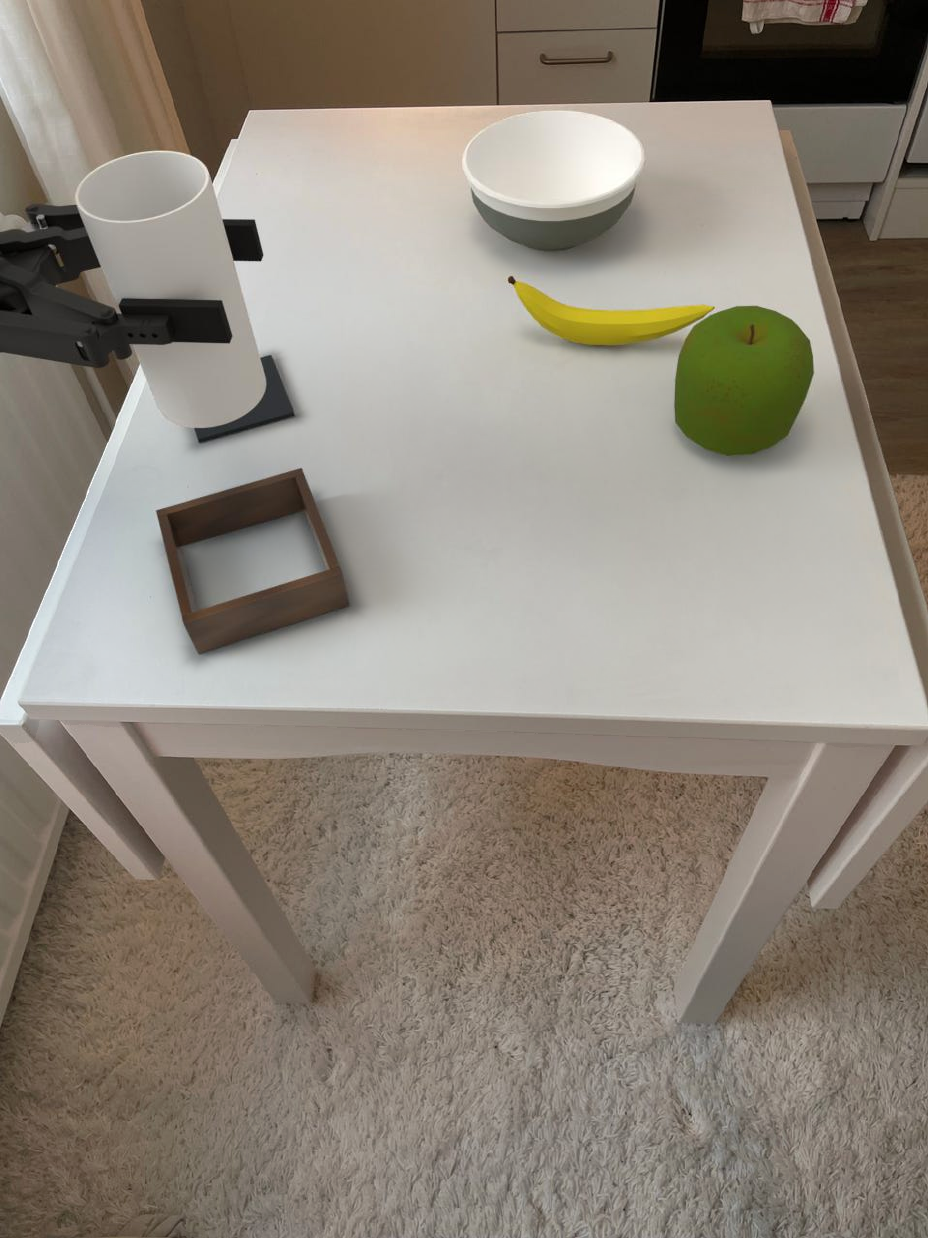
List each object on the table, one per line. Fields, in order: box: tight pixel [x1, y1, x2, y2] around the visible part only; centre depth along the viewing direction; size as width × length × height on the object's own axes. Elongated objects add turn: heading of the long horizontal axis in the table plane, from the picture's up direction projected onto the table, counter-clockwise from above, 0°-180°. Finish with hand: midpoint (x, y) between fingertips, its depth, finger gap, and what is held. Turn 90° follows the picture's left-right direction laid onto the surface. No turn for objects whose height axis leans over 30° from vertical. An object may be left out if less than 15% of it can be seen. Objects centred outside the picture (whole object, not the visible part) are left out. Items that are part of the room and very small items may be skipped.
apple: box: [673, 305, 815, 457], centre depth 80 cm, size 11×11×11 cm
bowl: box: [461, 109, 646, 252], centre depth 100 cm, size 19×19×8 cm
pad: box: [193, 354, 296, 444], centre depth 89 cm, size 9×9×1 cm
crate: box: [155, 467, 351, 655], centre depth 75 cm, size 12×12×4 cm
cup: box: [74, 150, 266, 429], centre depth 65 cm, size 8×8×16 cm
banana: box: [507, 275, 715, 346], centre depth 89 cm, size 3×19×6 cm, turn 78°
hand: (242, 279), depth 63 cm, fingers closed on cup, 8 cm apart
